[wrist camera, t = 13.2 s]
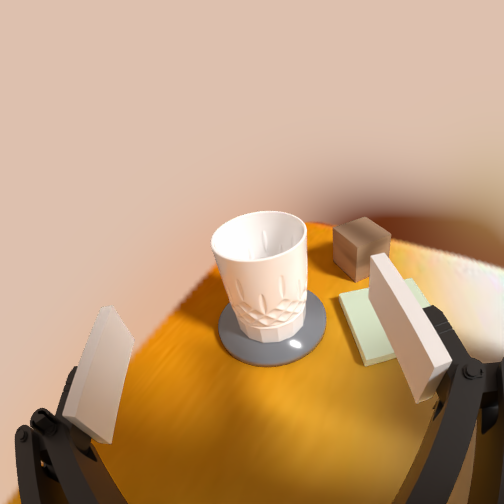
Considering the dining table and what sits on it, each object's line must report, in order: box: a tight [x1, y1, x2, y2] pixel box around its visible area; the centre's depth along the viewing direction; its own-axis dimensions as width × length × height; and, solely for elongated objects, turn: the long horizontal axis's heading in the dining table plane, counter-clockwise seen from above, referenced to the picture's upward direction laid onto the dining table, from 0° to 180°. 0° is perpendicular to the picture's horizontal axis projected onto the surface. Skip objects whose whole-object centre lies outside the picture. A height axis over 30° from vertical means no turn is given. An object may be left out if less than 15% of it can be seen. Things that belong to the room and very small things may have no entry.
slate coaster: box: [218, 290, 326, 367], centre depth 30 cm, size 11×11×1 cm
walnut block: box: [333, 217, 391, 283], centre depth 35 cm, size 5×5×5 cm
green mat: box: [339, 278, 431, 366], centre depth 27 cm, size 9×9×1 cm
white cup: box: [211, 211, 307, 343], centre depth 27 cm, size 8×8×10 cm
